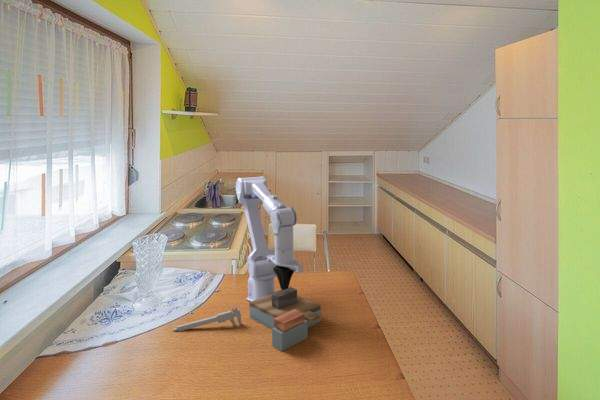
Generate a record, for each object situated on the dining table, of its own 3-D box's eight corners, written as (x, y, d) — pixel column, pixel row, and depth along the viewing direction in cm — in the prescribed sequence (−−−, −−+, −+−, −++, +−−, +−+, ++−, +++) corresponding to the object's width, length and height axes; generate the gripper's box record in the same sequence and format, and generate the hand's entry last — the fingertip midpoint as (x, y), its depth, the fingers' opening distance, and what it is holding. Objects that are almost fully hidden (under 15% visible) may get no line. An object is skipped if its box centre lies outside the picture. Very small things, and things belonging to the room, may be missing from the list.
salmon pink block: (274, 326, 111) (273, 318, 110) (294, 316, 116) (294, 309, 116) (283, 331, 108) (283, 323, 107) (304, 321, 113) (304, 313, 113)
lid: (249, 307, 127) (249, 290, 126) (282, 294, 137) (281, 278, 136) (297, 332, 112) (297, 312, 111) (330, 315, 121) (330, 297, 120)
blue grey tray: (234, 323, 124) (233, 308, 123) (282, 303, 137) (282, 289, 136) (281, 351, 108) (281, 333, 107) (330, 325, 122) (330, 309, 121)
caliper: (241, 324, 124) (240, 305, 123) (241, 326, 123) (240, 307, 122) (173, 330, 120) (171, 311, 119) (172, 332, 119) (171, 312, 118)
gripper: (310, 248, 119) (310, 291, 122) (278, 239, 130) (278, 278, 132) (292, 254, 115) (293, 298, 117) (261, 243, 125) (262, 284, 127)
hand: (284, 288), depth 124 cm, fingers closed
